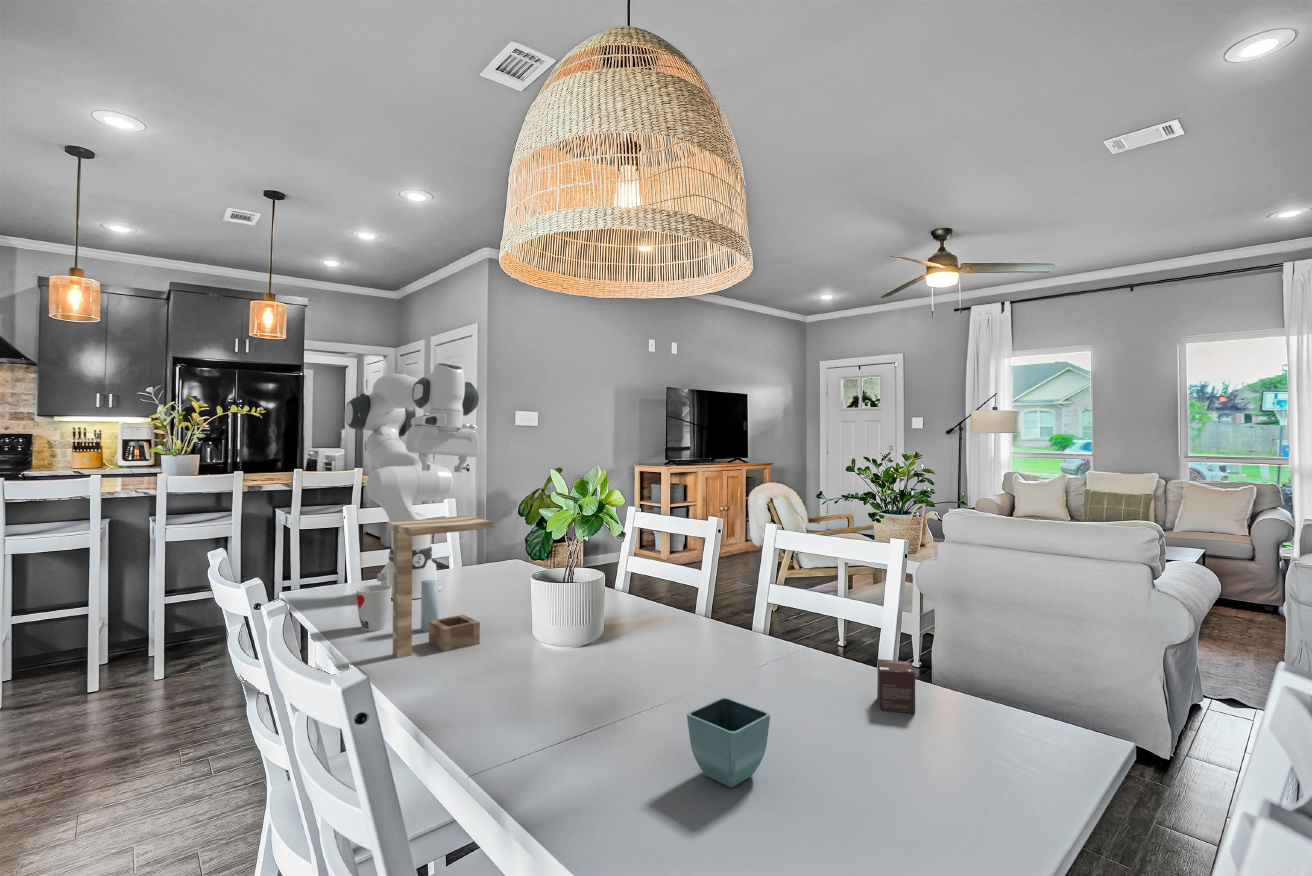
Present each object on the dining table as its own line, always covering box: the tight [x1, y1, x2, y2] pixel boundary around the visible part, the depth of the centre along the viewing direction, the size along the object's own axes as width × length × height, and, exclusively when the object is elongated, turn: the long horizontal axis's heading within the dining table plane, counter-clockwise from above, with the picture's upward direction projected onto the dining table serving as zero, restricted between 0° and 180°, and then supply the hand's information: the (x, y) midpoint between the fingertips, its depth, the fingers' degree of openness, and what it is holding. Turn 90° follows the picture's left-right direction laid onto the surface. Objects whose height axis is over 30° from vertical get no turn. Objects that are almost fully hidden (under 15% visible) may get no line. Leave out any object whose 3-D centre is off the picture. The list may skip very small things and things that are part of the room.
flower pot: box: [686, 696, 771, 788], centre depth 92 cm, size 9×9×9 cm
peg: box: [420, 579, 439, 633], centre depth 159 cm, size 4×4×12 cm
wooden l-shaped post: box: [386, 515, 494, 659], centre depth 147 cm, size 14×20×28 cm
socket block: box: [428, 614, 481, 653], centre depth 149 cm, size 8×8×5 cm
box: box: [876, 658, 916, 714], centre depth 116 cm, size 6×6×7 cm
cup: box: [356, 584, 392, 632], centre depth 160 cm, size 8×8×10 cm
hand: (442, 471), depth 176 cm, fingers open, 8 cm apart
